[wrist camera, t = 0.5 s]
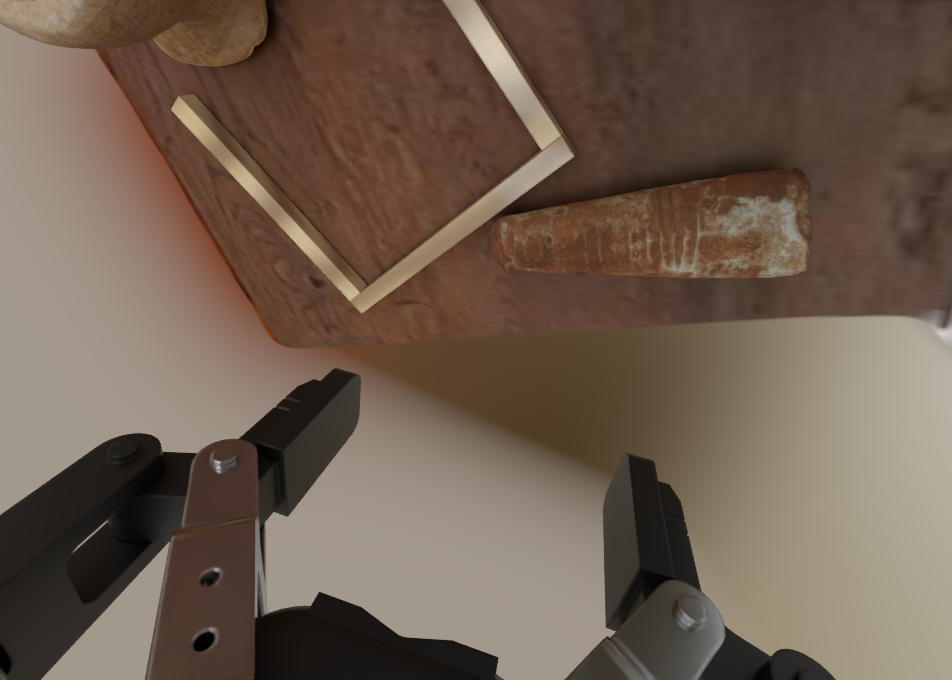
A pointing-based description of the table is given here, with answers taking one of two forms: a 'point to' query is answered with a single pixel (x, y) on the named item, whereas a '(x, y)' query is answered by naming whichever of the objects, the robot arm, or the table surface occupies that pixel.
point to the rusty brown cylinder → (669, 231)
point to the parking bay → (549, 159)
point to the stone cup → (145, 25)
